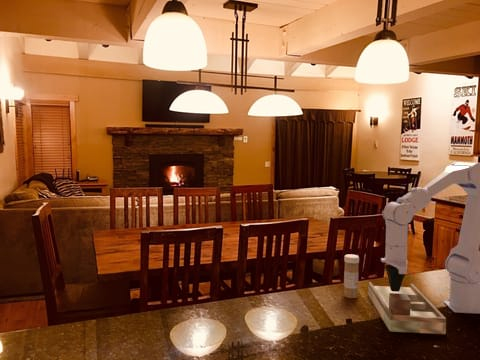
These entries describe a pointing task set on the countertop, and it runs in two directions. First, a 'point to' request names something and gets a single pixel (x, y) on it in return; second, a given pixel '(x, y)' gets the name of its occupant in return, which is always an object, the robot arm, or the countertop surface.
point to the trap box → (421, 311)
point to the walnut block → (399, 304)
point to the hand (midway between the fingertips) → (394, 290)
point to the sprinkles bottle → (351, 276)
